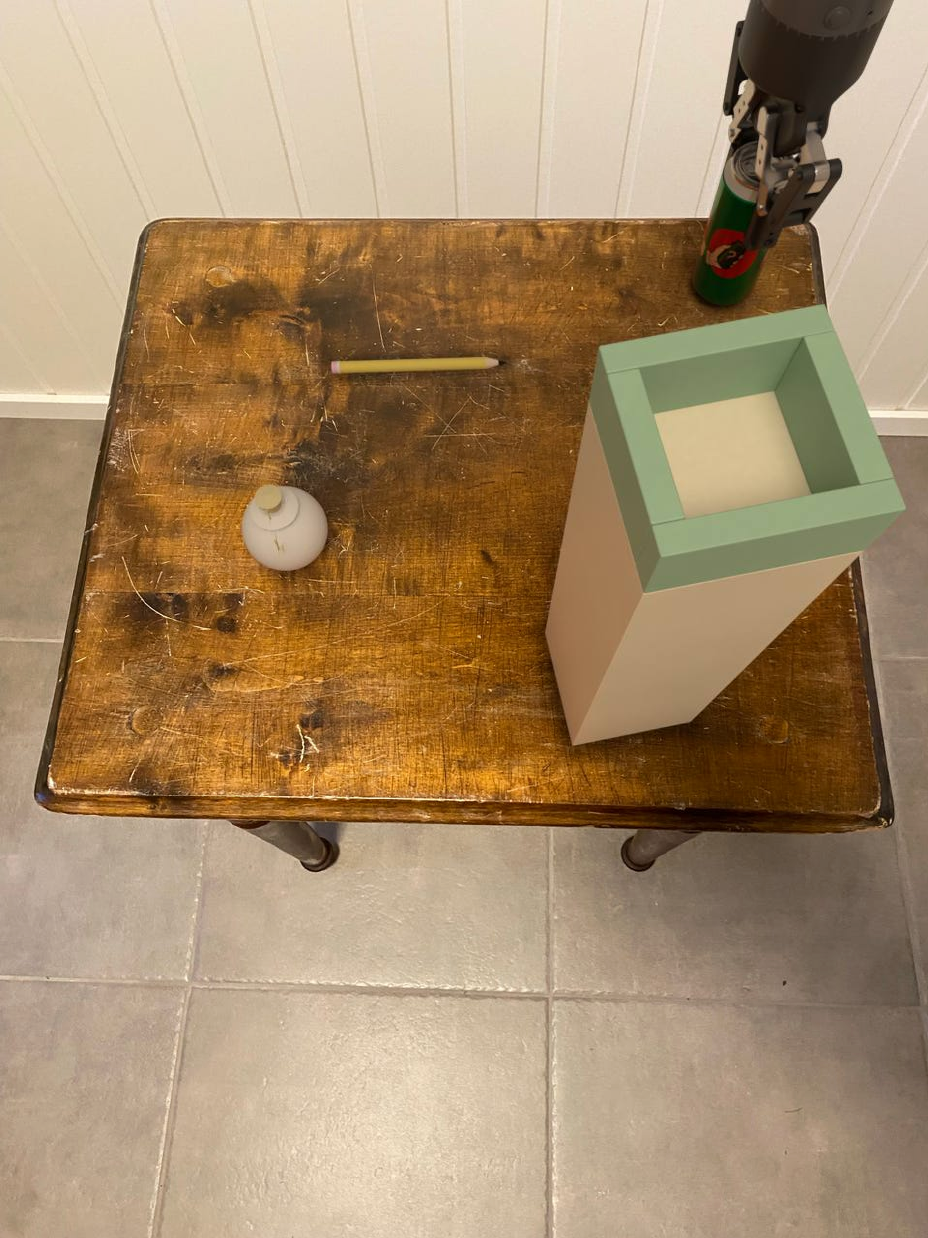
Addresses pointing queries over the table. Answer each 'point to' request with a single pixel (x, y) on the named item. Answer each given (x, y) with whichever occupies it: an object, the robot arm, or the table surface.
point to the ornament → (284, 527)
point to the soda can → (732, 233)
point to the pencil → (414, 365)
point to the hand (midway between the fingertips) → (746, 214)
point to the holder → (707, 513)
